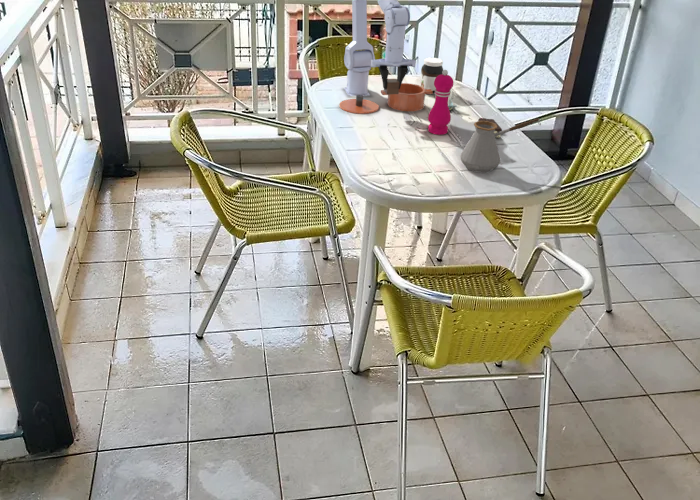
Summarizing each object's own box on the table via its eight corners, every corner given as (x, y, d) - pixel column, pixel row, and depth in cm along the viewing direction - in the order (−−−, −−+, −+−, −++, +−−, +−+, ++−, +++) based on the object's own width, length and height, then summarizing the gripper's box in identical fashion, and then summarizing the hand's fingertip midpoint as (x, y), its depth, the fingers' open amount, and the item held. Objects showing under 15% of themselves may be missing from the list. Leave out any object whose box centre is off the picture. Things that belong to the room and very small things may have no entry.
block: (383, 90, 225) (384, 78, 223) (395, 90, 226) (396, 78, 224) (386, 94, 222) (387, 82, 220) (398, 94, 223) (399, 82, 221)
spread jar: (416, 87, 257) (419, 56, 251) (445, 86, 259) (449, 56, 253) (425, 97, 247) (428, 65, 241) (454, 97, 249) (459, 65, 243)
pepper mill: (448, 136, 214) (456, 74, 204) (425, 133, 215) (432, 71, 205) (449, 128, 220) (457, 67, 210) (427, 126, 221) (434, 65, 211)
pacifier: (442, 112, 234) (458, 111, 235) (443, 95, 230) (459, 94, 232) (434, 105, 240) (450, 104, 241) (435, 88, 236) (451, 87, 238)
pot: (376, 101, 240) (377, 83, 237) (424, 100, 244) (426, 82, 241) (385, 113, 230) (386, 95, 227) (435, 112, 234) (437, 94, 230)
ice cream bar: (506, 139, 215) (491, 122, 227) (506, 134, 214) (492, 118, 226) (490, 139, 214) (476, 122, 227) (490, 134, 213) (477, 117, 226)
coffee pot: (463, 175, 189) (471, 124, 182) (455, 158, 199) (461, 110, 191) (537, 176, 191) (548, 125, 184) (525, 159, 201) (534, 111, 194)
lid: (335, 102, 237) (336, 89, 235) (373, 101, 240) (374, 88, 237) (343, 115, 226) (344, 102, 223) (382, 114, 228) (383, 101, 226)
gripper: (375, 50, 211) (372, 92, 218) (420, 50, 214) (415, 91, 221) (370, 44, 217) (367, 85, 224) (413, 44, 220) (409, 84, 227)
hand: (391, 88), depth 223 cm, fingers closed on block, 4 cm apart
